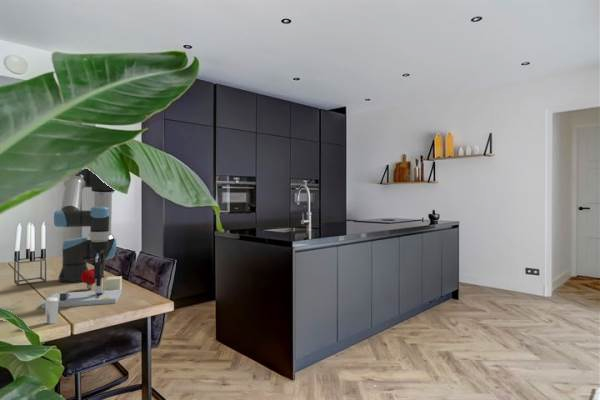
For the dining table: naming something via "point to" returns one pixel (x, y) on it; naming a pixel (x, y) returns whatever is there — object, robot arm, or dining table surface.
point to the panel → (87, 298)
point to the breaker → (63, 295)
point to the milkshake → (51, 310)
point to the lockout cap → (113, 283)
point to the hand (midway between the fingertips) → (98, 292)
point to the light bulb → (88, 278)
